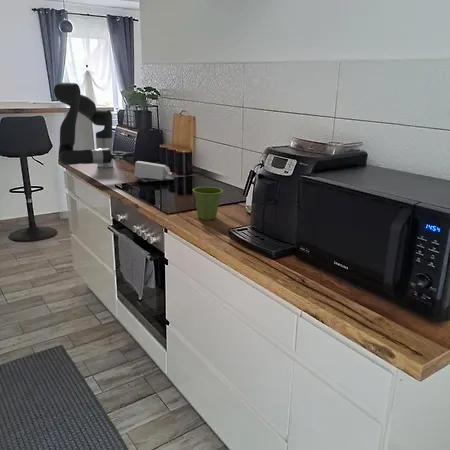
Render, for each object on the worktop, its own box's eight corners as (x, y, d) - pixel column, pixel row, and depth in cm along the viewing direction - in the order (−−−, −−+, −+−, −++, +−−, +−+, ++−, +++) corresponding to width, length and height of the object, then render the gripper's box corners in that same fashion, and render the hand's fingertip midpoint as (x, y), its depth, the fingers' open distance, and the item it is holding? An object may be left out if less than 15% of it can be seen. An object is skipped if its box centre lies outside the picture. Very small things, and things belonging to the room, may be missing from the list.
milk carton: (136, 173, 237) (171, 179, 238) (133, 175, 230) (169, 181, 231) (137, 160, 235) (173, 166, 236) (135, 162, 228) (171, 167, 229)
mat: (134, 176, 242) (134, 175, 242) (164, 174, 250) (164, 173, 250) (143, 182, 230) (143, 180, 229) (174, 179, 238) (174, 178, 237)
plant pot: (225, 221, 171) (226, 193, 167) (195, 223, 168) (196, 194, 164) (217, 212, 182) (218, 185, 178) (189, 214, 178) (189, 186, 175)
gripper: (103, 150, 217) (137, 149, 225) (97, 146, 228) (129, 145, 236) (104, 165, 220) (138, 163, 228) (97, 161, 231) (130, 159, 239)
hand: (133, 154), depth 232 cm, fingers closed
